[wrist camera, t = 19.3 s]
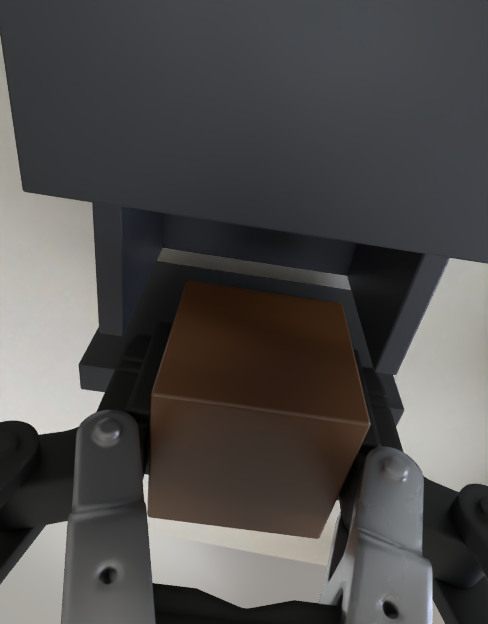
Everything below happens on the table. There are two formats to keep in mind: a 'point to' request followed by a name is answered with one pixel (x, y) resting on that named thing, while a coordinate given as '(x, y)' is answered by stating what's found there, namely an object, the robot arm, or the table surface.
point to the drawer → (251, 284)
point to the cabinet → (261, 113)
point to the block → (254, 412)
